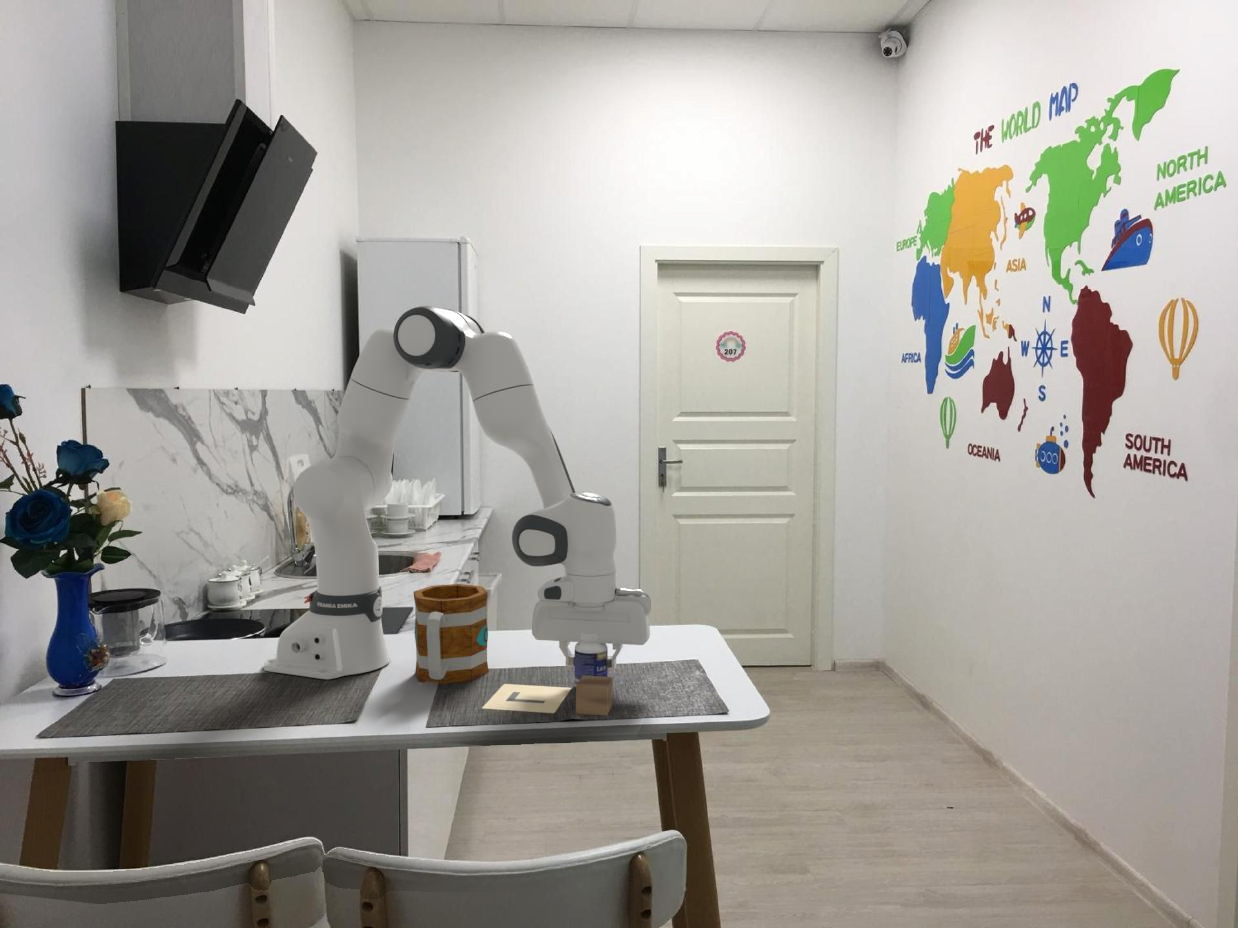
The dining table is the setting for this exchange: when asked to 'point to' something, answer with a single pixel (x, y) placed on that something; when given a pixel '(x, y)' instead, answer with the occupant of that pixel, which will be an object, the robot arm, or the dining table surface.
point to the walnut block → (594, 695)
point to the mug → (451, 633)
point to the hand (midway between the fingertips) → (591, 666)
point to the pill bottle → (590, 657)
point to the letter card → (527, 698)
